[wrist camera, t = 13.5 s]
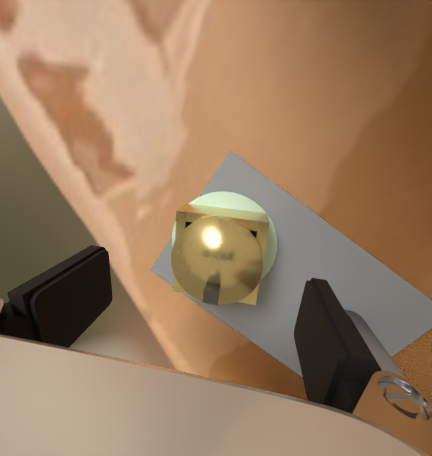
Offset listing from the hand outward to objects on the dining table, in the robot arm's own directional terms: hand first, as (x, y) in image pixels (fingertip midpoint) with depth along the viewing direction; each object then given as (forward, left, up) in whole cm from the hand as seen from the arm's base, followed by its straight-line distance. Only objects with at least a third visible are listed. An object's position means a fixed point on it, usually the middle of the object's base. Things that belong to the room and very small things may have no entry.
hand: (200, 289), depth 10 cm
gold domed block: (+1, -1, -9) cm, 9 cm away
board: (+8, -1, -10) cm, 13 cm away
